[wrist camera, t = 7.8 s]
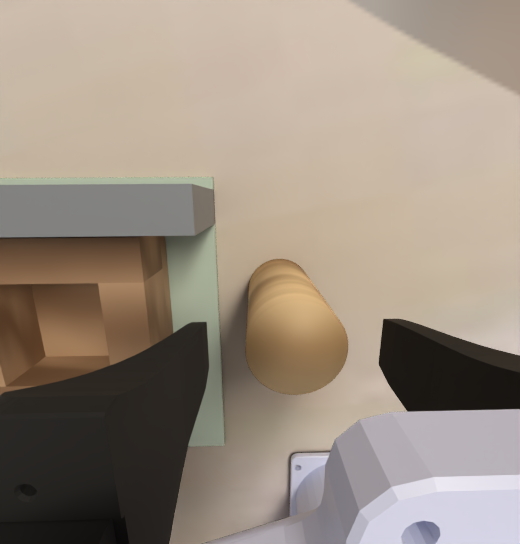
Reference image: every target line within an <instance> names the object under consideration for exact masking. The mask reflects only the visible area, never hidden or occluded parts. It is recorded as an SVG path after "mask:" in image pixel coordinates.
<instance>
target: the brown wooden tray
mask: <svg viewBox="0 0 520 544" xmlns="http://www.w3.org/2000/svg"><path fill="white" fill-rule="evenodd" d="M171 334H173V321H172V310H171V298H170V287H169V275H168V264H167V252H166V241H165V236H100V237H0V395H1V394H2V393H4V392H8V391H14V390H19V389H24V388H29V387H34V386H39V385H44V384H49V383H53V382H58V381H62V380H66V379H69V378H73V377H77V376H80V375H84V374H87V373H90V372H93V371H96V370H99V369H102V368H104V367H107V366H110V365H113V364H115V363H118V362H121V361H123V360H125V359H127V358H130V357H132V356H134V355H136V354H138V353H140V352H142V351H144V350H146V349H148V348H149V347H151V346H153V345H155V344H156V343H158V342H160V341H162V340H163V339H165V338H166V337H168V336H170V335H171Z"/></svg>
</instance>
